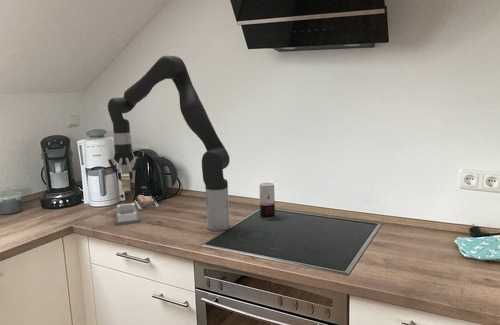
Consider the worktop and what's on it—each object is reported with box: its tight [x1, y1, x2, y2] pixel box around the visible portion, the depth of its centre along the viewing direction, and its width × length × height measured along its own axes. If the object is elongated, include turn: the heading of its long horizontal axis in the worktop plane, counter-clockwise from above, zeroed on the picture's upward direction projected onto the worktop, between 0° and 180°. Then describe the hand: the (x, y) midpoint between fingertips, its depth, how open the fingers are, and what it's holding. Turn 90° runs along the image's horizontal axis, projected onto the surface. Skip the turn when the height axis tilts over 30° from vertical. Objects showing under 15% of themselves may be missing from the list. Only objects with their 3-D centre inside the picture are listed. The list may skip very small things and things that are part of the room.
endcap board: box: [115, 202, 140, 226], centre depth 184 cm, size 19×10×4 cm, turn 18°
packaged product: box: [134, 194, 160, 211], centre depth 205 cm, size 18×5×10 cm
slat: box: [120, 172, 131, 192], centre depth 182 cm, size 14×4×5 cm, turn 18°
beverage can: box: [259, 182, 276, 220], centre depth 178 cm, size 7×7×15 cm
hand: (125, 179), depth 182 cm, fingers closed on slat, 3 cm apart
